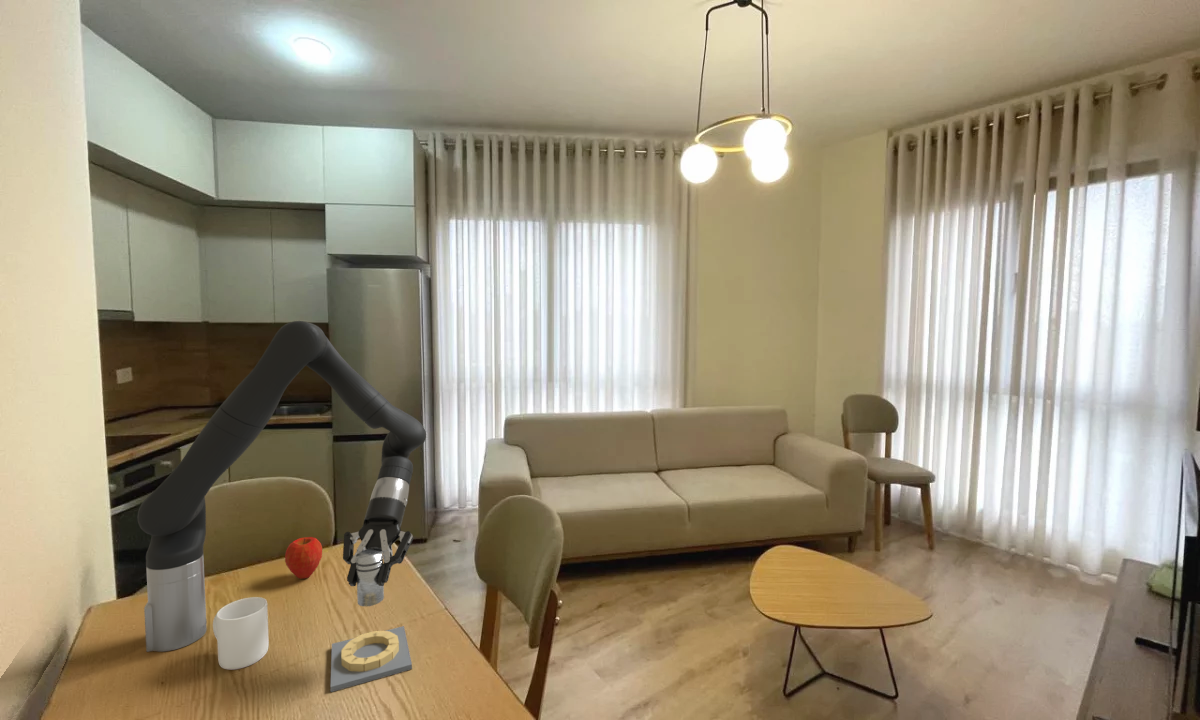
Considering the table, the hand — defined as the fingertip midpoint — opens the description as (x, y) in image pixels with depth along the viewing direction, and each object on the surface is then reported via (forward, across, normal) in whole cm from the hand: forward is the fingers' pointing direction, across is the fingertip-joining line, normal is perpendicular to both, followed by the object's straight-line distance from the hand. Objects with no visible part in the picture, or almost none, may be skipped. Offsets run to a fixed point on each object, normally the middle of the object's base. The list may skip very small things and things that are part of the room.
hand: (366, 584), depth 98 cm
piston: (+2, 0, +4) cm, 5 cm away
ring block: (+10, 0, +12) cm, 16 cm away
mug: (+9, -27, +14) cm, 32 cm away
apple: (-13, -31, +36) cm, 49 cm away
